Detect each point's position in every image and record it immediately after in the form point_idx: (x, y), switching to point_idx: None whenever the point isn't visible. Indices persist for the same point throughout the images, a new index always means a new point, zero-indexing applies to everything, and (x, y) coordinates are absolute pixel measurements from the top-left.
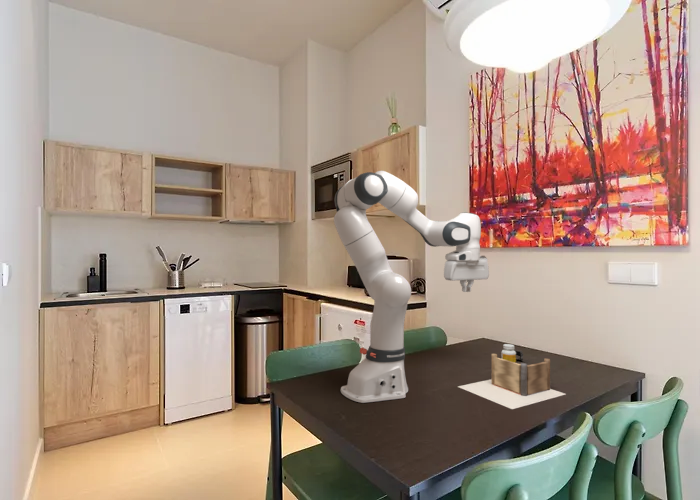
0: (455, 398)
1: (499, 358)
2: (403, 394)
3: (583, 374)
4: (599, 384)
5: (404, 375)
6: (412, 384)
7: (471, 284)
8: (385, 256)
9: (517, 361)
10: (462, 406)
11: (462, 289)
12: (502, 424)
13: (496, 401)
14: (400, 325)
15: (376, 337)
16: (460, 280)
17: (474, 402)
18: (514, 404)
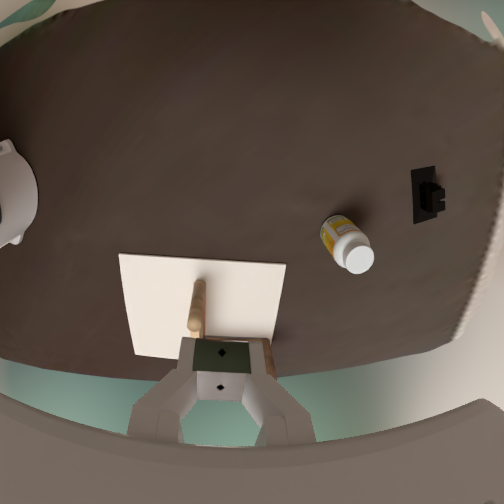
0: (86, 286)
1: (196, 333)
2: (15, 243)
3: (401, 319)
4: (361, 354)
5: (8, 235)
6: (55, 191)
7: (261, 426)
8: None
9: (413, 203)
10: (79, 310)
11: (181, 350)
12: (96, 362)
13: (134, 331)
14: None
15: None
16: (129, 432)
17: (104, 311)
18: (151, 349)
